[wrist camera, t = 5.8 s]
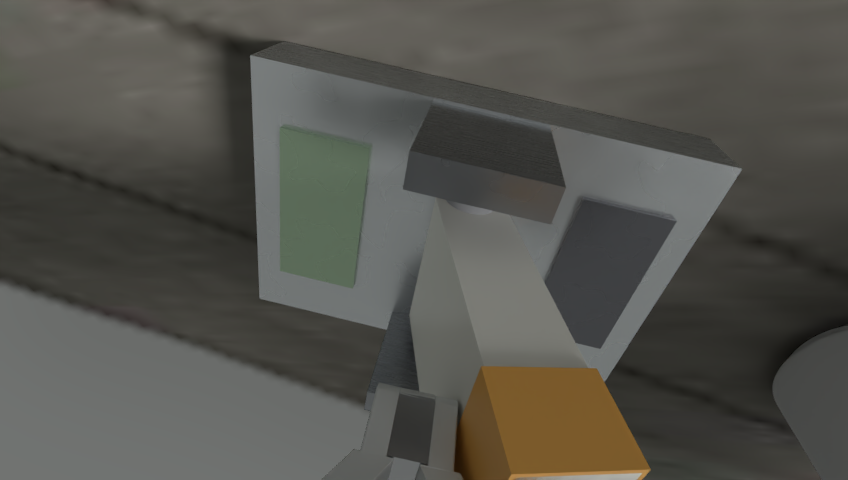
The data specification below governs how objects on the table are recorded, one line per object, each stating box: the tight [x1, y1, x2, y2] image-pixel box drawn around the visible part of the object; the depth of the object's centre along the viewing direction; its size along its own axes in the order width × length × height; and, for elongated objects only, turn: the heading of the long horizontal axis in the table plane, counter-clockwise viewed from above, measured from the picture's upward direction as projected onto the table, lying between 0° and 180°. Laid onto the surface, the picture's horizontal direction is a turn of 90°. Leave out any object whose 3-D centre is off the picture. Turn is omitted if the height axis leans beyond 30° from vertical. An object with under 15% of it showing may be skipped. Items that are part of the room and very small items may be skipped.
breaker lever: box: [409, 198, 651, 480], centre depth 12 cm, size 2×7×9 cm, turn 170°
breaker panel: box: [250, 41, 742, 411], centre depth 15 cm, size 15×10×6 cm, turn 79°
